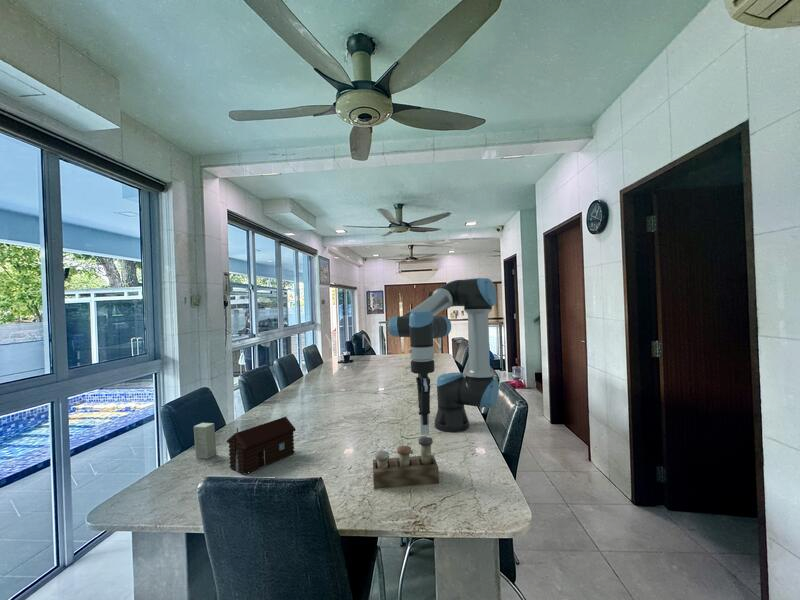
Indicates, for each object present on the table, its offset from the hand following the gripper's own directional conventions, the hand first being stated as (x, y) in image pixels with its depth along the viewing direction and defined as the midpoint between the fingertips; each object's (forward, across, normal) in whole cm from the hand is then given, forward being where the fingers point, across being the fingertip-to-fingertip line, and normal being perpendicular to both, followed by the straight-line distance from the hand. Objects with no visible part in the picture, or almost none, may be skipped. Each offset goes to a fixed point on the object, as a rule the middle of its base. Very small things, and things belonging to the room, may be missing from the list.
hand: (424, 433), depth 116 cm
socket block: (+14, 0, -7) cm, 16 cm away
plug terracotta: (+12, 0, -7) cm, 14 cm away
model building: (+15, -22, -57) cm, 63 cm away
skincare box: (+15, -30, -81) cm, 87 cm away
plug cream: (+14, 0, -14) cm, 19 cm away
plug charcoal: (+10, 0, 0) cm, 10 cm away
